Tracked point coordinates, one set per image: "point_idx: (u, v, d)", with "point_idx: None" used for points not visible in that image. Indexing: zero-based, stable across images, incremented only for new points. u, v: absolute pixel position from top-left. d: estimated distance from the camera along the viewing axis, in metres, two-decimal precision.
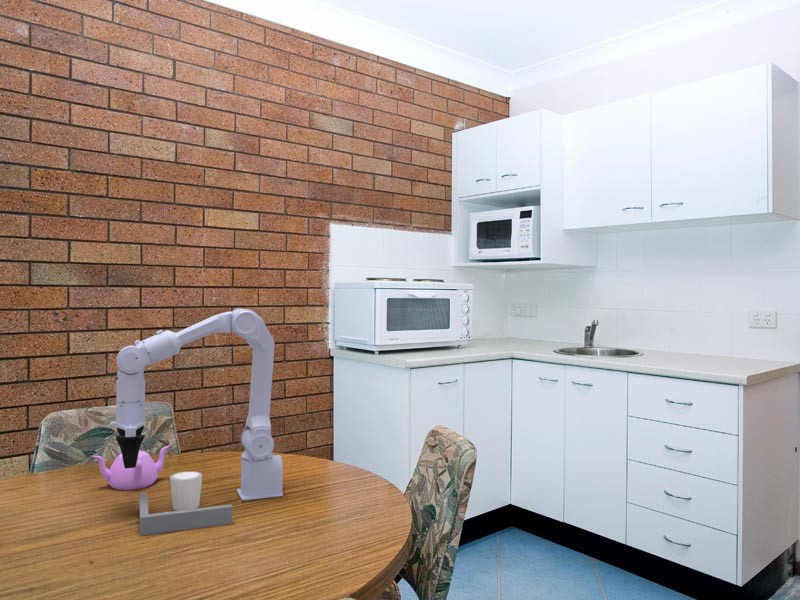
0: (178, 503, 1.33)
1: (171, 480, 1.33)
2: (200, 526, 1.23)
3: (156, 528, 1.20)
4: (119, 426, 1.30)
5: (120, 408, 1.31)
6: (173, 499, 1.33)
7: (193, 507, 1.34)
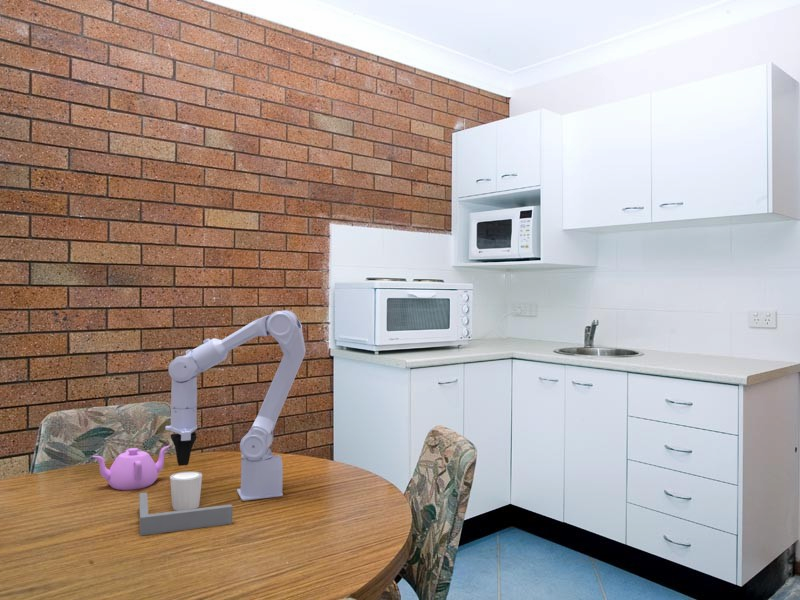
0: (178, 503, 1.33)
1: (171, 480, 1.33)
2: (200, 526, 1.23)
3: (156, 528, 1.20)
4: (174, 430, 1.40)
5: (175, 413, 1.41)
6: (173, 499, 1.33)
7: (193, 507, 1.34)
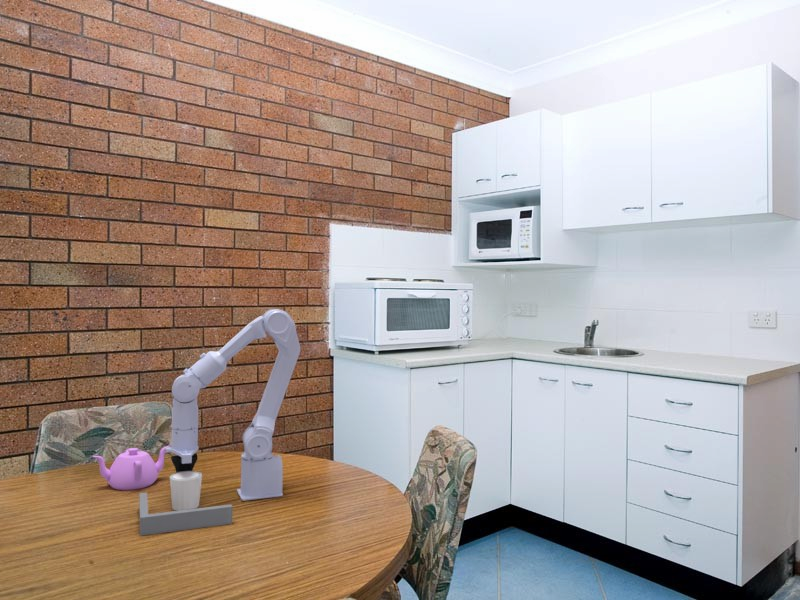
0: (178, 503, 1.33)
1: (171, 480, 1.33)
2: (200, 526, 1.23)
3: (156, 528, 1.20)
4: (175, 452, 1.36)
5: (175, 434, 1.37)
6: (173, 499, 1.33)
7: (193, 507, 1.34)
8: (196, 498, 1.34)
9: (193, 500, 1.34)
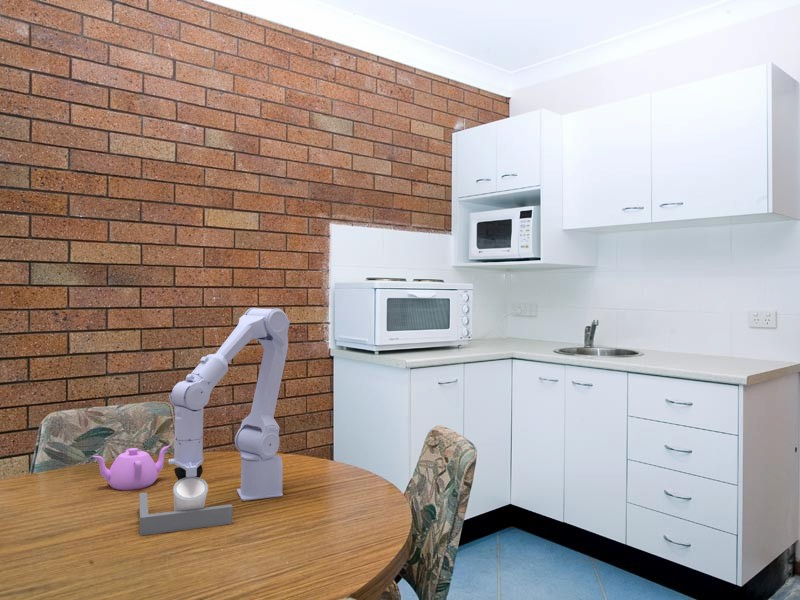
0: None
1: (174, 495, 1.23)
2: (200, 526, 1.23)
3: (156, 528, 1.20)
4: (178, 465, 1.27)
5: (179, 445, 1.27)
6: (176, 510, 1.25)
7: None
8: None
9: None
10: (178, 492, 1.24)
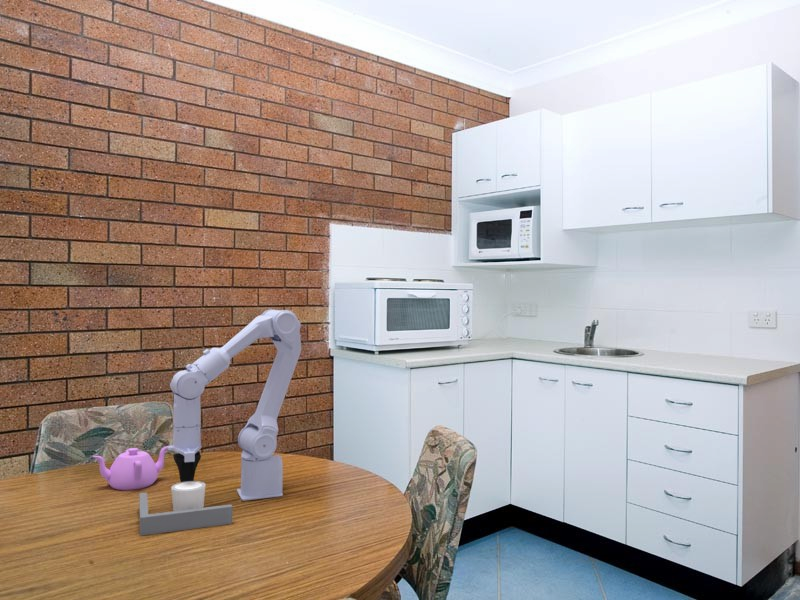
0: None
1: (173, 491, 1.26)
2: (200, 526, 1.23)
3: (156, 528, 1.20)
4: (177, 451, 1.32)
5: (177, 432, 1.32)
6: None
7: None
8: None
9: None
10: (176, 488, 1.27)
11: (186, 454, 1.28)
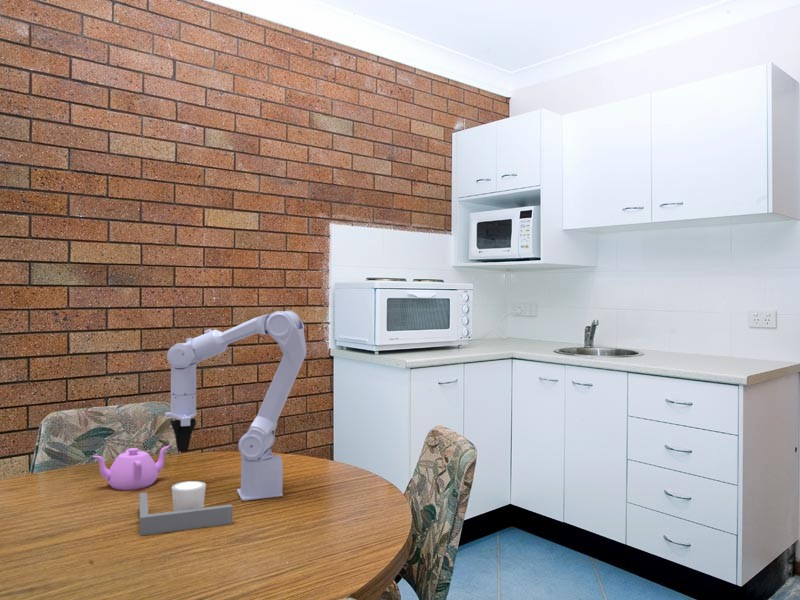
0: None
1: (173, 491, 1.26)
2: (200, 526, 1.23)
3: (156, 528, 1.20)
4: (174, 416, 1.42)
5: (174, 399, 1.43)
6: None
7: None
8: None
9: None
10: (176, 488, 1.27)
11: (182, 419, 1.38)
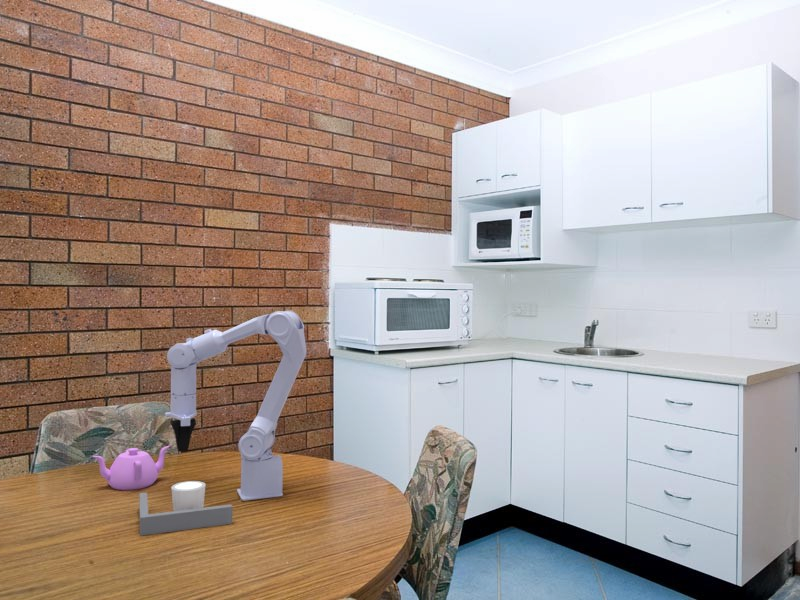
0: None
1: (173, 491, 1.26)
2: (200, 526, 1.23)
3: (156, 528, 1.20)
4: (174, 416, 1.42)
5: (174, 399, 1.43)
6: None
7: None
8: None
9: None
10: (176, 488, 1.27)
11: (182, 419, 1.38)
